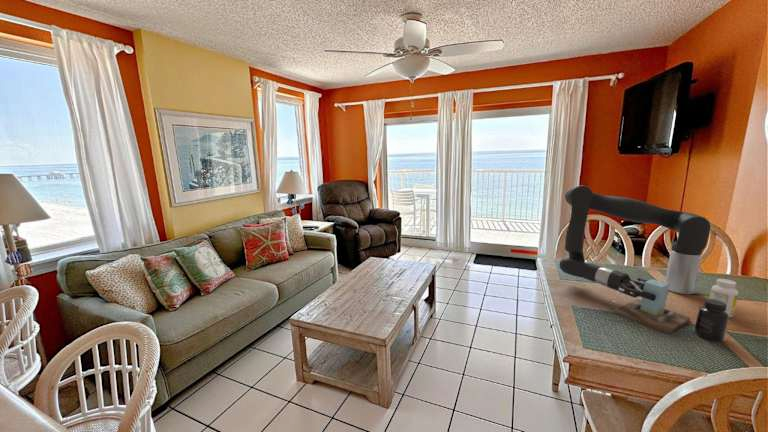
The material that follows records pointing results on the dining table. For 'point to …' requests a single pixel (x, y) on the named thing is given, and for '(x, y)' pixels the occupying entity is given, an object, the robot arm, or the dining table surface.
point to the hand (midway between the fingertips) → (661, 295)
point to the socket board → (653, 317)
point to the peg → (661, 294)
